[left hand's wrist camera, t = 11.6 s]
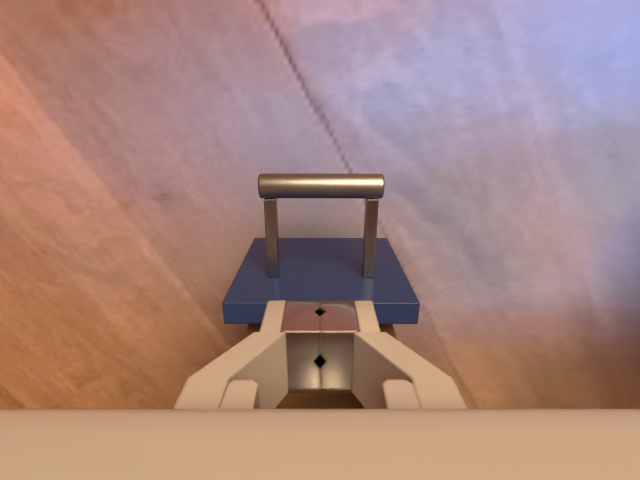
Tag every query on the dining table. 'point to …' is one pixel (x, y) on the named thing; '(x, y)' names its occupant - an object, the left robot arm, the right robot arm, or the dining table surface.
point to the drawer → (321, 269)
